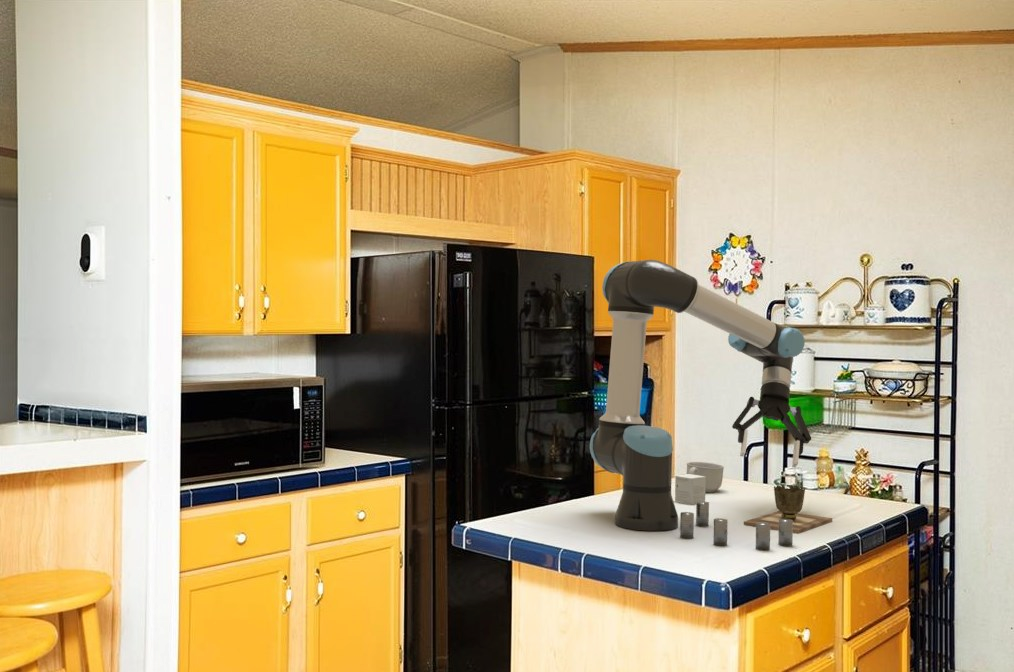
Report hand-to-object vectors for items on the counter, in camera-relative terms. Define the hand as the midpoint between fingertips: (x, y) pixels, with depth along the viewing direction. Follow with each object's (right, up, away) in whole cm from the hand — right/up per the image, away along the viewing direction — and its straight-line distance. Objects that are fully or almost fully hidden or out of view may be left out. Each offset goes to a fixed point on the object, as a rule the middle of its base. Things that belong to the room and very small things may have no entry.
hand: (768, 460), depth 251 cm
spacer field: (-18, -14, -28) cm, 36 cm away
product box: (-18, -14, +16) cm, 27 cm away
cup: (+2, -13, -12) cm, 18 cm away
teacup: (-11, -14, +34) cm, 38 cm away
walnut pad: (+2, -14, -12) cm, 18 cm away
